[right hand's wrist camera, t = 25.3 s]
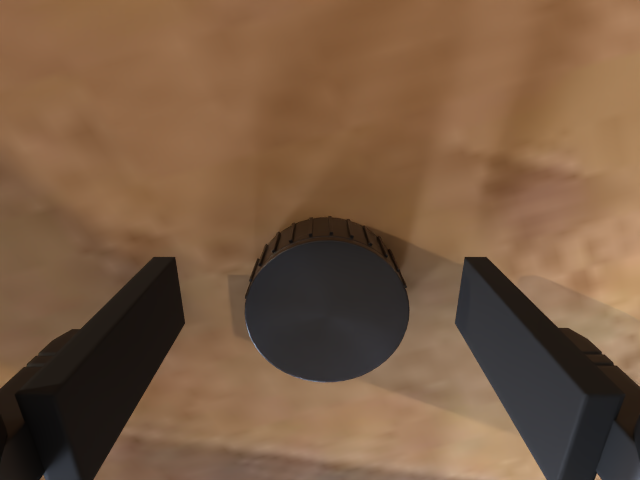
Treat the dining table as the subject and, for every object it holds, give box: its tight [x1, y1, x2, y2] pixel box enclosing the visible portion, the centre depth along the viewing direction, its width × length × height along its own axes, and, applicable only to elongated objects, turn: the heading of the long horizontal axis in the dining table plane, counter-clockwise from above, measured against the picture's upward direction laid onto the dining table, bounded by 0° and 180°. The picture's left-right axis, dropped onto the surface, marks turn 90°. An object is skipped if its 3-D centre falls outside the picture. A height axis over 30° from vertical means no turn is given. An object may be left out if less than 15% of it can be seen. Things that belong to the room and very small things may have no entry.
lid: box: [245, 216, 409, 382], centre depth 13 cm, size 5×6×2 cm
